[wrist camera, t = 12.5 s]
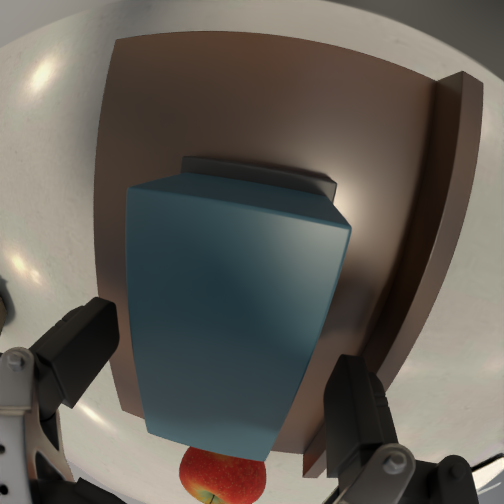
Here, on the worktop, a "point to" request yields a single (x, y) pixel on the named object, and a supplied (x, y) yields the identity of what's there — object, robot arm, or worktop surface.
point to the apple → (221, 477)
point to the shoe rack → (306, 161)
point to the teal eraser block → (228, 297)
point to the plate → (487, 472)
